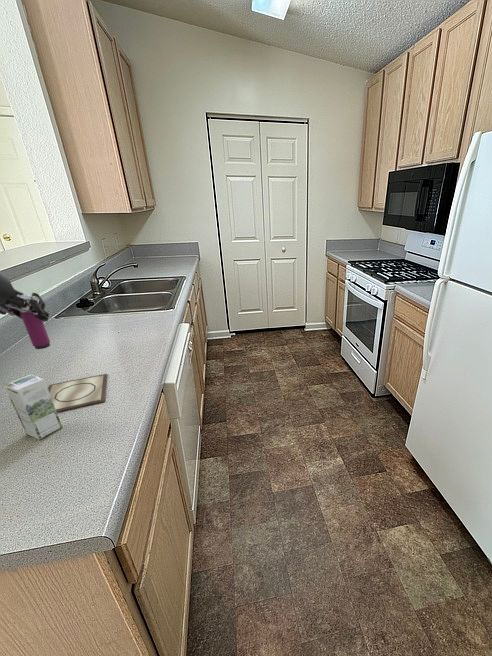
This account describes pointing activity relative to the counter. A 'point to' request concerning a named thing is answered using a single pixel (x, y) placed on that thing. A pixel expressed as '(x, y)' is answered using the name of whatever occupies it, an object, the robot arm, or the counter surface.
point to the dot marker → (35, 330)
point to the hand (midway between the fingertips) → (38, 317)
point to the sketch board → (78, 392)
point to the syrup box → (33, 406)
